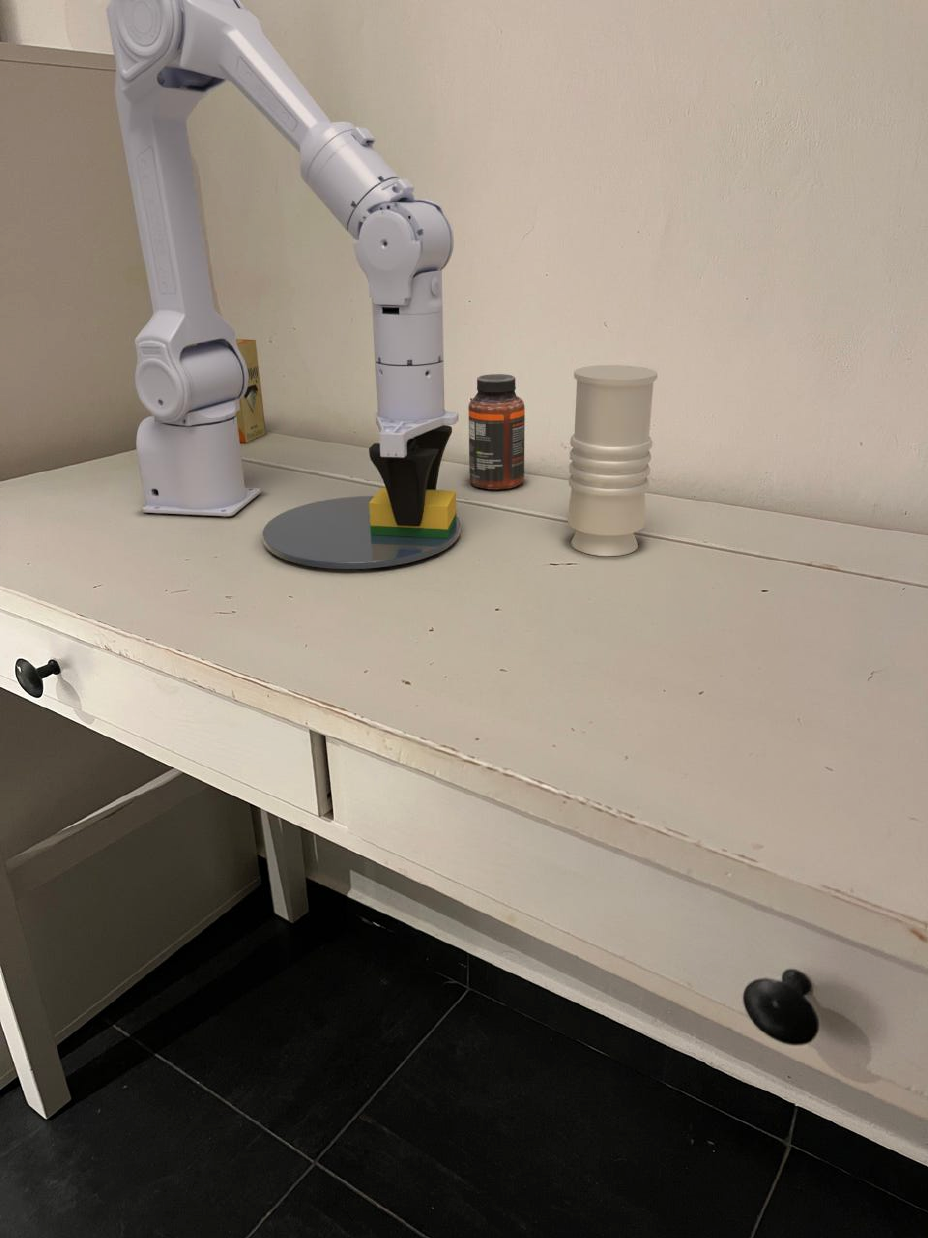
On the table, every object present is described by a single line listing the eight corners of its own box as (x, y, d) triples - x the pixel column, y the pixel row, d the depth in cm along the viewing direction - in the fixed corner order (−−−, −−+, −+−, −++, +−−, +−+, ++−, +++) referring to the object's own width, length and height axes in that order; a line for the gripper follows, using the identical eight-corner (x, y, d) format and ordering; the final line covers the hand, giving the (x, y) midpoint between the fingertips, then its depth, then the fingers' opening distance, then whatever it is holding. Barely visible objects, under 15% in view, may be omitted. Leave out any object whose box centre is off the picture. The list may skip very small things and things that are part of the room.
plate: (231, 567, 75) (230, 556, 74) (301, 501, 91) (300, 492, 90) (440, 579, 72) (440, 567, 71) (474, 509, 88) (474, 499, 87)
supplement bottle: (525, 476, 98) (527, 371, 93) (522, 492, 93) (525, 382, 88) (471, 475, 99) (470, 371, 94) (466, 491, 93) (465, 381, 88)
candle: (658, 542, 79) (674, 371, 72) (614, 564, 74) (627, 383, 68) (595, 525, 83) (605, 362, 77) (550, 545, 79) (556, 373, 72)
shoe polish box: (212, 440, 114) (199, 343, 109) (233, 431, 118) (221, 338, 113) (246, 443, 113) (234, 345, 107) (265, 433, 117) (255, 339, 112)
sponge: (370, 534, 79) (368, 502, 77) (383, 518, 83) (381, 487, 81) (447, 538, 78) (447, 505, 76) (456, 521, 82) (456, 490, 80)
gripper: (440, 377, 67) (443, 546, 72) (470, 347, 79) (471, 492, 85) (349, 375, 68) (360, 541, 74) (394, 346, 81) (400, 490, 86)
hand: (414, 515), depth 80 cm, fingers closed on sponge, 4 cm apart
